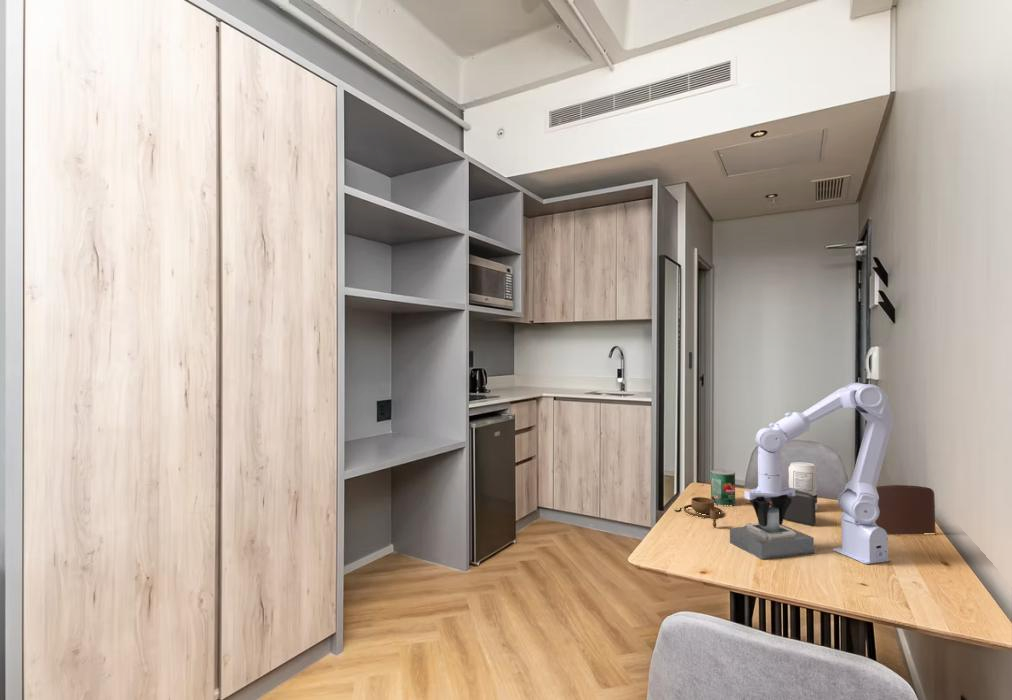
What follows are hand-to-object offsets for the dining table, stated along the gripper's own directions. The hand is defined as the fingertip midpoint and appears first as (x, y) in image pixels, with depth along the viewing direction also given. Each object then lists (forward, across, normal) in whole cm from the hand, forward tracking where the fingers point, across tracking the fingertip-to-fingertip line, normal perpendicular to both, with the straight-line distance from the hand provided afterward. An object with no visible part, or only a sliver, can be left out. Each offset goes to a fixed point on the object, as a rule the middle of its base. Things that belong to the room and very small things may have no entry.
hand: (770, 524), depth 137 cm
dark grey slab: (+6, -22, -18) cm, 29 cm away
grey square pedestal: (+6, 0, -2) cm, 7 cm away
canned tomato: (+6, -15, -39) cm, 42 cm away
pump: (+1, 0, 0) cm, 1 cm away
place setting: (+7, +2, -28) cm, 29 cm away
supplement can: (+6, -36, -26) cm, 45 cm away
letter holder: (+7, -44, -3) cm, 45 cm away
